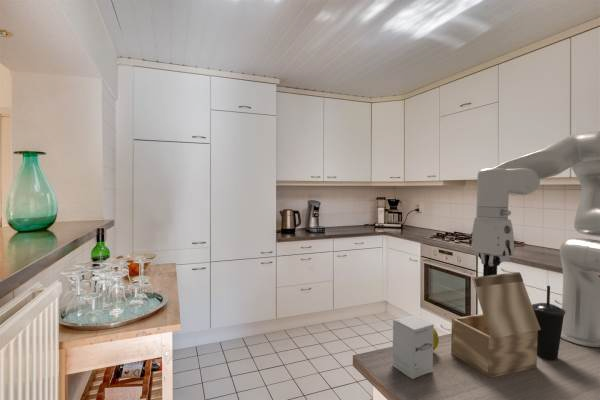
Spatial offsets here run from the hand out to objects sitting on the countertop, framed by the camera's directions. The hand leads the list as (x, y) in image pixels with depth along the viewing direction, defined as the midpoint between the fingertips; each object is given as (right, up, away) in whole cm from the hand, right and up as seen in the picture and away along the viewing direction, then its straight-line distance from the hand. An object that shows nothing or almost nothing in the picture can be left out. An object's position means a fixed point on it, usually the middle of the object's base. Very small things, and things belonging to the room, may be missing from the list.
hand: (489, 279), depth 90 cm
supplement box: (-23, -23, -5) cm, 33 cm away
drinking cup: (+17, -22, +2) cm, 28 cm away
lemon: (-16, -22, +4) cm, 27 cm away
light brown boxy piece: (0, -22, 0) cm, 22 cm away
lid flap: (+1, -5, -4) cm, 7 cm away
